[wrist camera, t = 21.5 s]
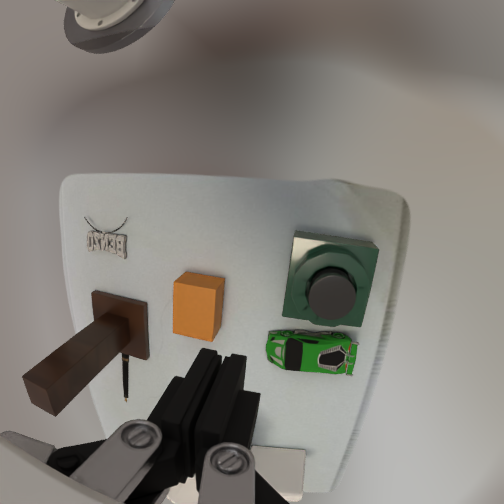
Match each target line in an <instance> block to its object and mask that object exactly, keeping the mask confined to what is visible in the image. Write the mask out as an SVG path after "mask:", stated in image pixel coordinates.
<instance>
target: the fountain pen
mask: <svg viewBox="0 0 504 504" xmlns="http://www.w3.org/2000/svg"><path fill="white" fill-rule="evenodd" d="M122 361H123V388H124V397H125V401H126V402H127V398H128V362H129V355H127V354H124V353H122Z"/></svg>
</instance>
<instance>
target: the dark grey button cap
mask: <svg viewBox="0 0 504 504" xmlns="http://www.w3.org/2000/svg"><path fill="white" fill-rule="evenodd" d="M355 301H356V292H355V289H354V286H353V284H352V281H351V279H350V277H349V276H348V275H347V274H346V273H345V272H343V271H341V270H339V269H333V268H330V269H325V270H322V271H320V272H318V273H317V274H316V275H315V276H314V277H313V278H312V280H311V282H310V284H309V305H310V307H311V309H312V311H313V312H314V313H315V314H316V315H317V316H319V317H321V318H323V319H327V320H336V319H340V318H342V317H344V316H346V315H347V314H348V313H349V312H350V311H351V310H352V308H353V307H354V304H355Z"/></svg>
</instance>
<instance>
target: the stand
mask: <svg viewBox="0 0 504 504" xmlns="http://www.w3.org/2000/svg"><path fill="white" fill-rule="evenodd" d="M91 295H92V306H93V315H94V321H93V322H92V323H91V324H89V325H88V326H87V327H85V328H84V329H83V330H81V331H80V332H79V333H77V334H76V335H75V336H73V337H72V338H71V339H70V340H68V341H67V342H66V343H64V344H63V345H62V346H60V347H59V348H58V349H56V350H55V351H54V352H52V353H51V354H50V355H49V356H48V357H46V358H45V359H44V360H42V361H41V362H40V363H38V364H37V365H36V366H34V367H33V368H32V369H31V370H29V371H28V372H27V373H25V374H24V375H23V376H22V378H23V380H24V383H25V386H26V389H27V392H28V395H29V397H30V400H31V402H32V403H33V404H34V405H36V406H38V407H39V408H41V409H43V410H44V411H46V412H48V413H50V414H52V415H53V416H55V417H56V416H57V415H58V414H59V413H60V412H61V411H62V410H63V409H64V408H65V407H66V406H67V405H68V404H69V403H70V401H72V400H73V398H74V397H75V396H76V395H77V394H78V393H79V392H80V391H81V390H82V389H83V388H84V387H85V386H86V385H87V384H88V383H89V382H90V381H91V380H92V379H93V378H94V377H95V376H96V375H97V374H98V373H99V372H100V371H101V370H102V369H103V368H104V367H105V366H106V365H107V364H108V363H109V362H110V361H111V360H112V359H113V358H114V357H115V356H116V355H117V354H118V353H119V352H120V353H124V354H127V355H130V356H133V357H136V358H140V359H143V360H147V359H148V358H149V341H148V319H147V303H145V302H141V301H137V300H133V299H129V298H124V297H120V296H116V295H112V294H108V293H105V292H101V291H97V290H95V291H93V292H92V293H91Z"/></svg>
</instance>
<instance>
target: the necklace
mask: <svg viewBox="0 0 504 504" xmlns="http://www.w3.org/2000/svg"><path fill="white" fill-rule="evenodd" d="M127 218H128V217H127ZM127 218H126V220H127ZM85 219H86V217H85ZM126 220H125V221H124V223H125V222H126ZM86 221H87V219H86ZM87 222H88V221H87ZM124 223H123V224H122V225H121V226H120V227H119V228H118V229H120V228H121V227H122V226H123V225H124ZM88 224H89V225H90V226H91V227H93V226H92V225H91V224H90V223H89V222H88ZM93 229H95V228H94V227H93ZM118 229H116V231H117V230H118ZM95 230H96V231H98V230H97V229H95ZM112 232H115V231H112ZM109 233H111V232H109ZM109 233H108V232H107V234H106V232H104V231H103V232H100V231H98V232H94V231H89V232H88V234H87V247H88V251H89V252H91V251H93V250H106V251H110V252H112V253H114V254H118V256H120V257H122V258H123V259H126V252H125V241H126V236H125V235H119V236H118V235H117V234H109ZM100 239H101V241H100ZM111 240H113V241H112V242H111V245H110V241H111Z"/></svg>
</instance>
